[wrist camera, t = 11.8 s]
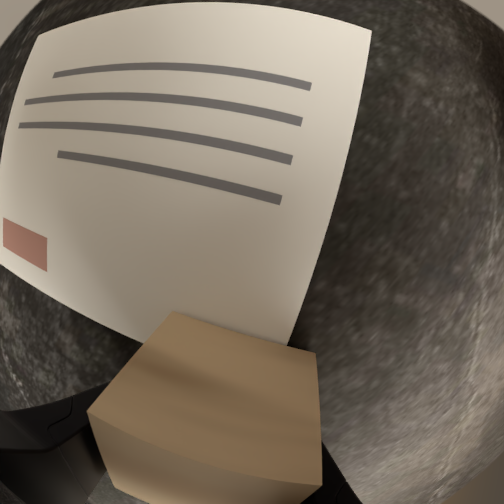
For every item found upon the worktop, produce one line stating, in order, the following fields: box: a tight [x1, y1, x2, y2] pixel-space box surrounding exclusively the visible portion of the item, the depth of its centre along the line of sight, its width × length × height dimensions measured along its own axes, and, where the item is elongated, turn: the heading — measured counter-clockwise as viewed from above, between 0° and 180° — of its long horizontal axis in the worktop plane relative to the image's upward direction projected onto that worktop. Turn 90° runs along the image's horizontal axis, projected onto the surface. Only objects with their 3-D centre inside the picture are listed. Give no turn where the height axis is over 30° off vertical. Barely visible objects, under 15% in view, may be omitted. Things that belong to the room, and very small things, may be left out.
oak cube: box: [87, 311, 322, 504], centre depth 7 cm, size 5×5×5 cm
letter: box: [0, 2, 372, 346], centre depth 8 cm, size 13×16×1 cm
